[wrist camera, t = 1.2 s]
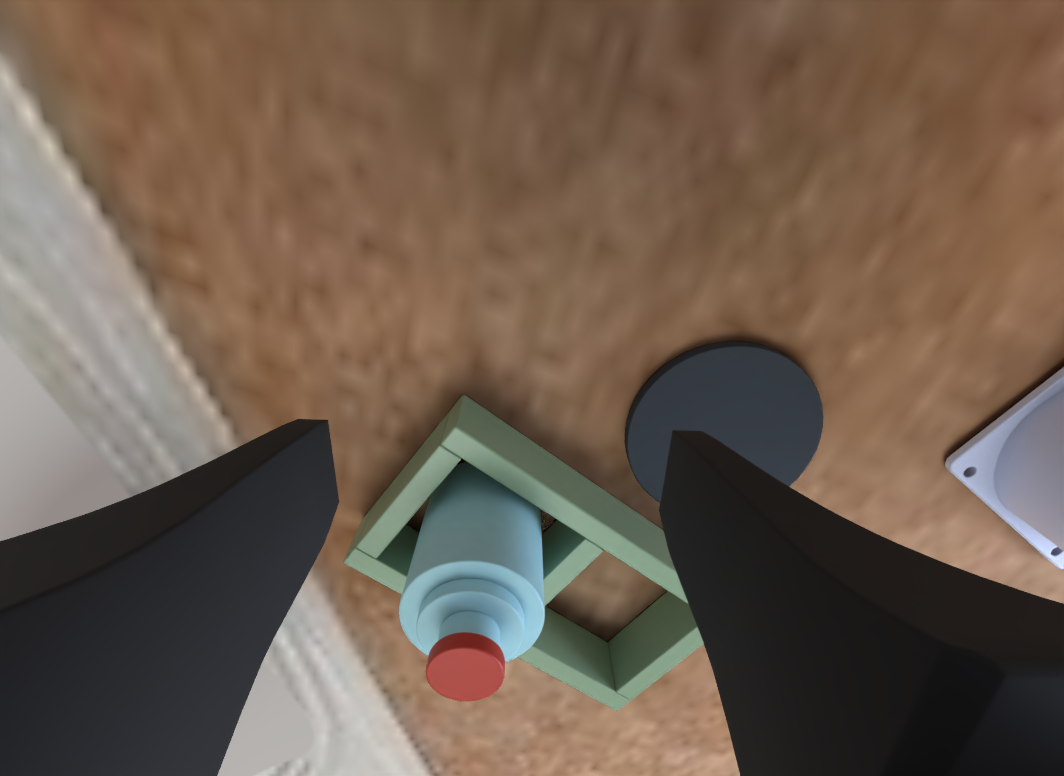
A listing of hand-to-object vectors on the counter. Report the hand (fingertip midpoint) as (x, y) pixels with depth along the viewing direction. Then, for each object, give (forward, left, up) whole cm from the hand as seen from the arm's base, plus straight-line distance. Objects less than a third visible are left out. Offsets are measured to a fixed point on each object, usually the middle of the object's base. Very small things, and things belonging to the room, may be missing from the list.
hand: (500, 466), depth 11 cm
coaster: (-10, -2, -10) cm, 14 cm away
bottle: (-4, +8, -10) cm, 13 cm away
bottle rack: (-8, +8, -10) cm, 15 cm away
